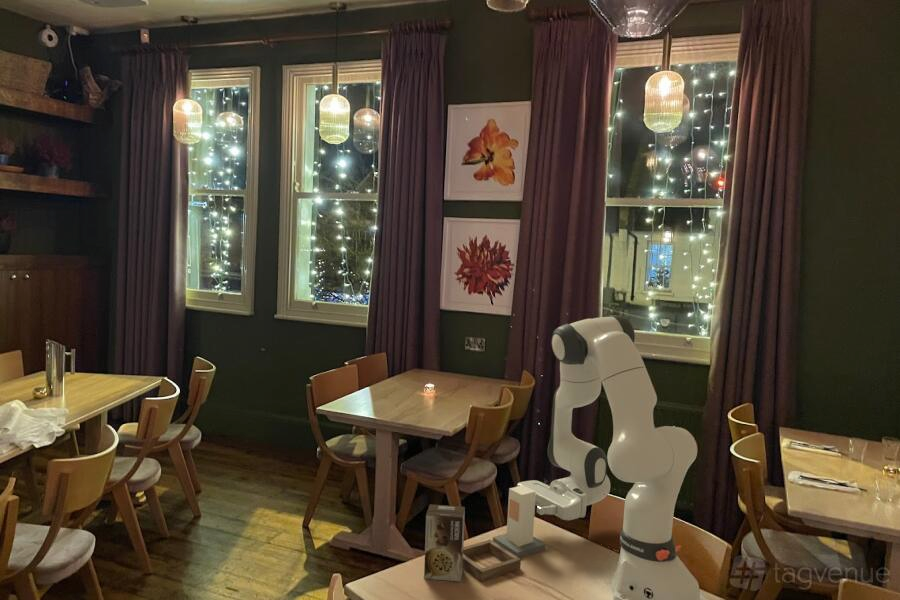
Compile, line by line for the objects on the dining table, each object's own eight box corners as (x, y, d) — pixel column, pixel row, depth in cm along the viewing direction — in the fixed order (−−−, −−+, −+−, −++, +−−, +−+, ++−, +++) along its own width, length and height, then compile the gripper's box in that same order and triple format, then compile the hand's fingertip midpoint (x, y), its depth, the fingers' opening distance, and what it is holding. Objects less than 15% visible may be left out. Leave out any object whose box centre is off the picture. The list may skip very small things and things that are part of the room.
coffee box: (462, 569, 162) (466, 506, 160) (460, 582, 156) (464, 517, 154) (426, 565, 163) (429, 503, 161) (422, 578, 157) (425, 513, 155)
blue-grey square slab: (545, 549, 175) (545, 543, 175) (516, 558, 169) (517, 552, 169) (520, 534, 183) (520, 529, 183) (492, 542, 177) (492, 537, 177)
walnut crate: (520, 568, 164) (520, 559, 163) (481, 581, 156) (482, 571, 156) (489, 548, 173) (490, 539, 173) (452, 559, 166) (452, 550, 166)
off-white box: (532, 542, 175) (535, 491, 174) (517, 546, 172) (521, 495, 171) (520, 534, 179) (523, 485, 178) (505, 539, 176) (508, 488, 175)
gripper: (538, 472, 192) (502, 480, 184) (591, 496, 175) (553, 506, 167) (537, 493, 193) (501, 502, 185) (589, 519, 176) (552, 530, 168)
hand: (526, 504), depth 176 cm, fingers open, 8 cm apart
